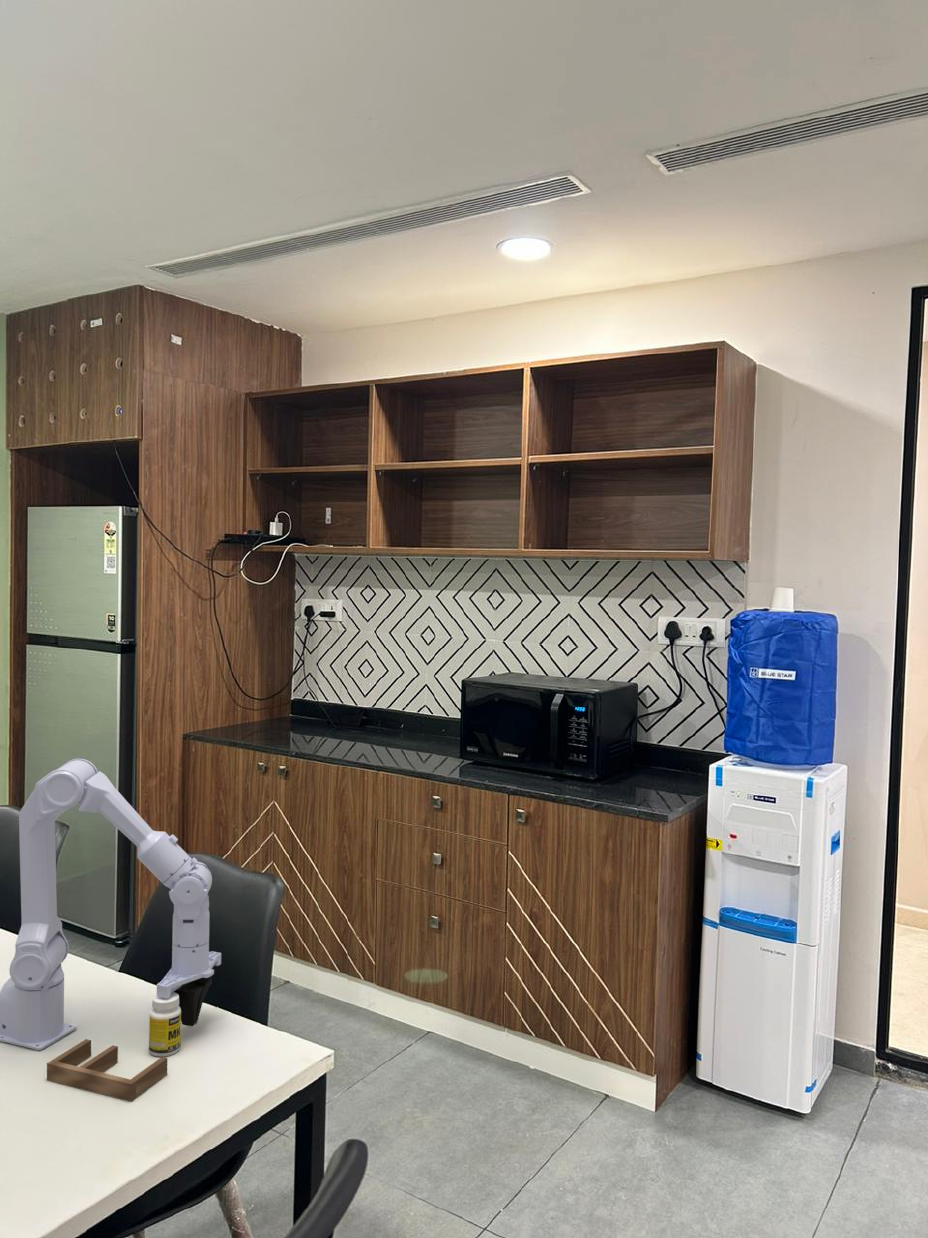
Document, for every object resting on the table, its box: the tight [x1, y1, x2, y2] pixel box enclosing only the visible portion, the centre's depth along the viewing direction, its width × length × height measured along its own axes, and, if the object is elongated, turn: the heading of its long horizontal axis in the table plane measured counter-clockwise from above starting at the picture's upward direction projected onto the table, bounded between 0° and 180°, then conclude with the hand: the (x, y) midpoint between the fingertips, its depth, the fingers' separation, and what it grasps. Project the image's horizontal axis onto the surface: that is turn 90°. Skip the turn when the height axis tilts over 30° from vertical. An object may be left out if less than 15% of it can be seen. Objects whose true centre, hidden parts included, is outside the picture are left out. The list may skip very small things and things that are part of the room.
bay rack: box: [46, 1038, 168, 1103], centre depth 140 cm, size 15×8×2 cm, turn 70°
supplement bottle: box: [148, 992, 182, 1058], centre depth 149 cm, size 5×5×8 cm
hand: (189, 1024), depth 155 cm, fingers closed
